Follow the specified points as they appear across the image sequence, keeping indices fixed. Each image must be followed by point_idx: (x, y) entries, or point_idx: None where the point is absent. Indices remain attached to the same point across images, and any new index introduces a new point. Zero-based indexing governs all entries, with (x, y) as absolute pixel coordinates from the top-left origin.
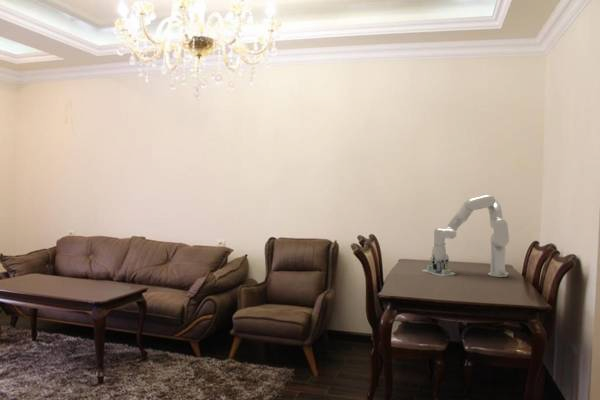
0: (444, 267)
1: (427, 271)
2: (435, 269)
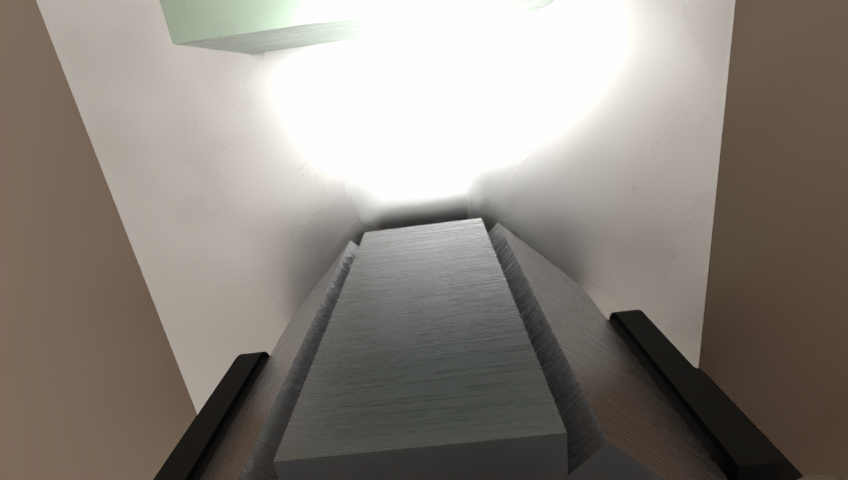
0: None
1: (130, 223)
2: None
